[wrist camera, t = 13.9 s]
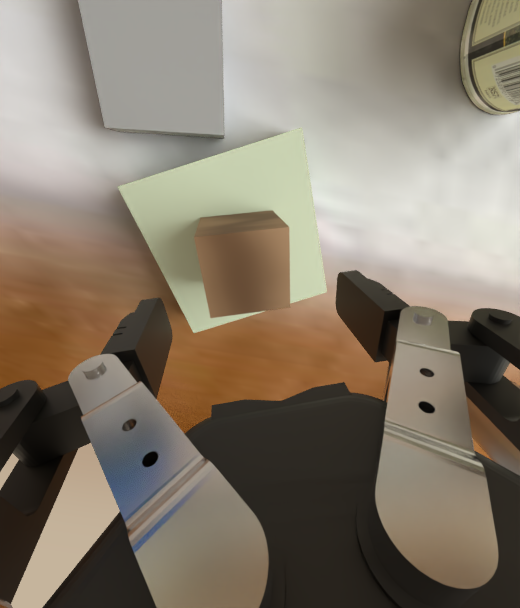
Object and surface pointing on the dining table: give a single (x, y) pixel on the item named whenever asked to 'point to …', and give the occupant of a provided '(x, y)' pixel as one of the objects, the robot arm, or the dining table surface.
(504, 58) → the coffee can
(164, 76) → the slate block
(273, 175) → the sage block
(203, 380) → the dining table surface
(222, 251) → the walnut cube
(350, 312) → the robot arm
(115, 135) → the dining table surface
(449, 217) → the dining table surface
